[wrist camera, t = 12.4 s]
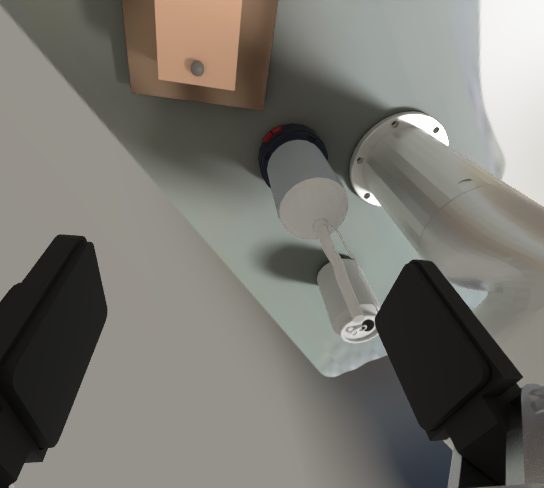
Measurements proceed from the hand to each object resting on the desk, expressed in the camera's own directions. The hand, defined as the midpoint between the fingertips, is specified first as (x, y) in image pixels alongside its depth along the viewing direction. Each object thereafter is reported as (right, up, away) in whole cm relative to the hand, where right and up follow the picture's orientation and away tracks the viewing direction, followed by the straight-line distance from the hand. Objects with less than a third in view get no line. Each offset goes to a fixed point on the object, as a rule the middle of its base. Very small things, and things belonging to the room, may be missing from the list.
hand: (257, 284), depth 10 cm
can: (+11, -3, +43) cm, 44 cm away
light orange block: (-6, +21, +18) cm, 28 cm away
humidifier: (+3, +12, +29) cm, 31 cm away
